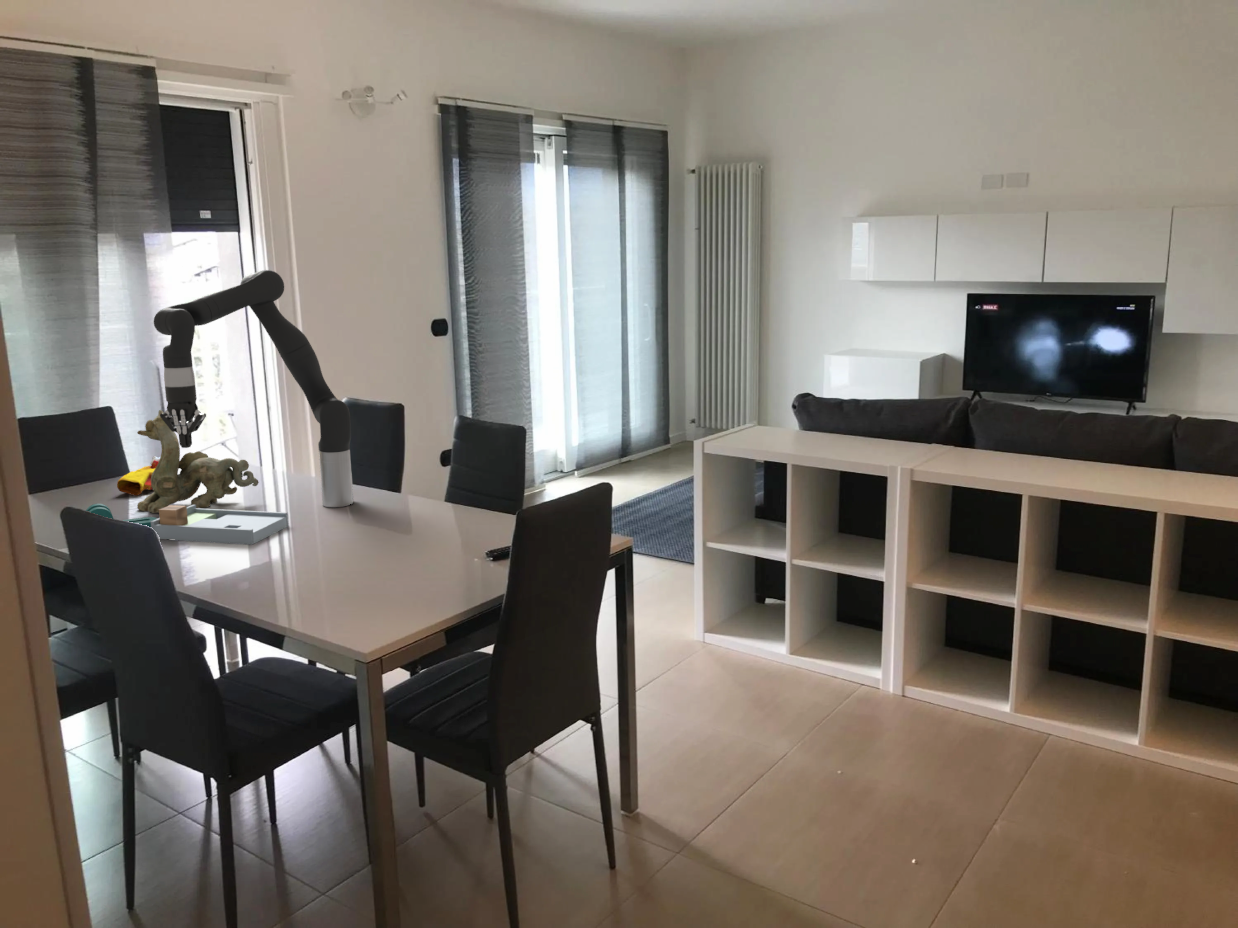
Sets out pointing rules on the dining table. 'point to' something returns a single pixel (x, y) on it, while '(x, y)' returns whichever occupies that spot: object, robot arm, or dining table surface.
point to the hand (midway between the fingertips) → (186, 447)
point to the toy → (138, 479)
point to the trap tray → (223, 526)
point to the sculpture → (189, 473)
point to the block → (173, 515)
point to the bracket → (106, 512)
